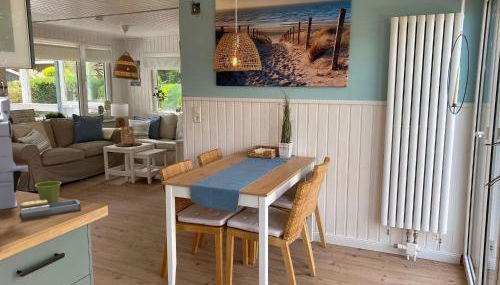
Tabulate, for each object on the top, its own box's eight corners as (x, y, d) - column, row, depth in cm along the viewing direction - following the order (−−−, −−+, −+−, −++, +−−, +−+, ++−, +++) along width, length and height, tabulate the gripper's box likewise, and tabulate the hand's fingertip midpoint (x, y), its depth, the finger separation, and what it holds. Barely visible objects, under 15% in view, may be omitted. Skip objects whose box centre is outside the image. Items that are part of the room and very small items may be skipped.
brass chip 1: (22, 209, 145) (21, 202, 145) (34, 207, 147) (33, 200, 147) (23, 212, 142) (22, 205, 141) (35, 210, 144) (35, 203, 143)
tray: (47, 209, 151) (47, 203, 151) (77, 204, 157) (76, 199, 157) (50, 214, 145) (49, 208, 145) (80, 209, 151) (80, 203, 151)
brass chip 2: (35, 207, 147) (34, 200, 147) (46, 205, 149) (46, 199, 149) (36, 210, 144) (35, 203, 144) (48, 208, 146) (47, 201, 146)
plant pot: (31, 206, 155) (29, 185, 154) (52, 200, 163) (51, 179, 162) (46, 209, 151) (44, 188, 149) (67, 203, 159) (66, 182, 158)
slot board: (20, 212, 147) (19, 203, 146) (47, 208, 152) (46, 199, 151) (22, 219, 140) (21, 210, 139) (50, 214, 145) (49, 205, 144)
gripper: (-22, 159, 130) (-18, 198, 132) (27, 155, 138) (30, 192, 140) (-22, 156, 136) (-18, 193, 138) (25, 152, 144) (28, 188, 146)
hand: (6, 192), depth 140 cm, fingers open, 5 cm apart
